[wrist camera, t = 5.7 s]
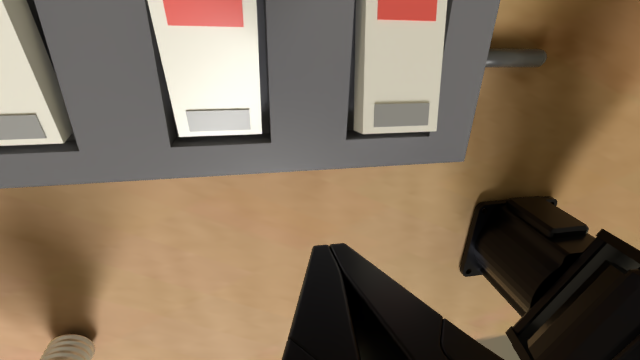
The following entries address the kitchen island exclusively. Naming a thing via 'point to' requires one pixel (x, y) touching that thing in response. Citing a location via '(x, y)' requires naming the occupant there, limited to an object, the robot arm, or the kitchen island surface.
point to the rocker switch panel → (275, 93)
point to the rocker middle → (210, 64)
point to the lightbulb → (69, 348)
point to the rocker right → (398, 65)
